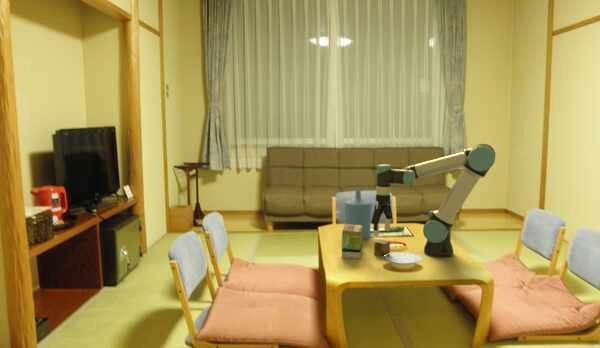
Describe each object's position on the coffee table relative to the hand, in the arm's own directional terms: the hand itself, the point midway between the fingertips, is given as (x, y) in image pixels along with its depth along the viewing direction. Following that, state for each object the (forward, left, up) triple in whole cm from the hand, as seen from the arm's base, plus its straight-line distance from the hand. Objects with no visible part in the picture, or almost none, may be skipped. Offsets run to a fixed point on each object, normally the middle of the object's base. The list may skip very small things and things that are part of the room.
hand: (381, 233), depth 258 cm
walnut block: (0, 0, -12) cm, 12 cm away
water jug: (+28, -24, -12) cm, 38 cm away
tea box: (+13, +9, -12) cm, 19 cm away
